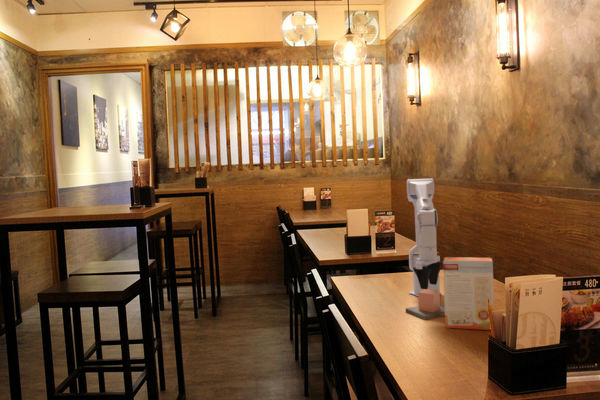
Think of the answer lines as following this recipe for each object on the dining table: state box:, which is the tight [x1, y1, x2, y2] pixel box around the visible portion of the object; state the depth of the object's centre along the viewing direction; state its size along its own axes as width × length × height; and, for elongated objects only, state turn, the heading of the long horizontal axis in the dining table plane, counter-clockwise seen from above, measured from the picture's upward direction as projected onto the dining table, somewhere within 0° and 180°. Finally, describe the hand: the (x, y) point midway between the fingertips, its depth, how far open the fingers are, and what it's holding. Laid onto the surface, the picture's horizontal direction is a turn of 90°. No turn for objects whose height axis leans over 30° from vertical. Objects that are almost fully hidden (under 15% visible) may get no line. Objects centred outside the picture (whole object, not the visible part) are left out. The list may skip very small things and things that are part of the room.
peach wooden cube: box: [417, 289, 441, 312], centre depth 160 cm, size 5×5×6 cm
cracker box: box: [442, 256, 495, 331], centre depth 145 cm, size 14×6×21 cm, turn 71°
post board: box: [405, 304, 445, 320], centre depth 160 cm, size 12×10×6 cm
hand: (428, 286), depth 160 cm, fingers open, 6 cm apart
